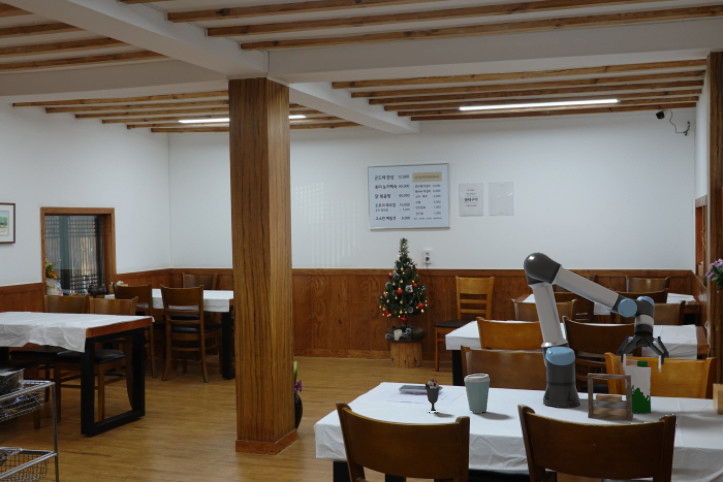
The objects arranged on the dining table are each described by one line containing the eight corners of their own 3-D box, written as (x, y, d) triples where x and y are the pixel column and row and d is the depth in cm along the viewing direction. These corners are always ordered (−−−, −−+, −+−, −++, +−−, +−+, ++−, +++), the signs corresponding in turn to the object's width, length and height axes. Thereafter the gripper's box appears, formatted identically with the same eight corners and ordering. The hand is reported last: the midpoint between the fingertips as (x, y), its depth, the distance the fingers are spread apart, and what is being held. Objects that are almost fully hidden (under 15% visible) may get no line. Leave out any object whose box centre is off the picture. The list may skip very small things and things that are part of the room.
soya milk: (654, 413, 301) (653, 362, 301) (632, 414, 300) (631, 363, 301) (644, 408, 310) (643, 359, 310) (622, 409, 309) (621, 360, 309)
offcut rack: (588, 417, 296) (587, 374, 296) (590, 414, 301) (589, 372, 302) (631, 420, 289) (630, 376, 289) (633, 417, 295) (632, 374, 295)
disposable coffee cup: (474, 415, 303) (474, 377, 304) (459, 411, 313) (458, 374, 313) (496, 412, 308) (495, 375, 309) (480, 408, 318) (479, 372, 318)
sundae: (442, 410, 314) (442, 374, 315) (439, 414, 308) (438, 376, 308) (427, 410, 316) (426, 373, 317) (423, 413, 310) (422, 376, 310)
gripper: (676, 334, 321) (675, 376, 307) (613, 333, 331) (610, 373, 318) (675, 323, 316) (674, 365, 302) (612, 322, 326) (608, 362, 313)
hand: (641, 369), depth 310 cm, fingers open, 13 cm apart
